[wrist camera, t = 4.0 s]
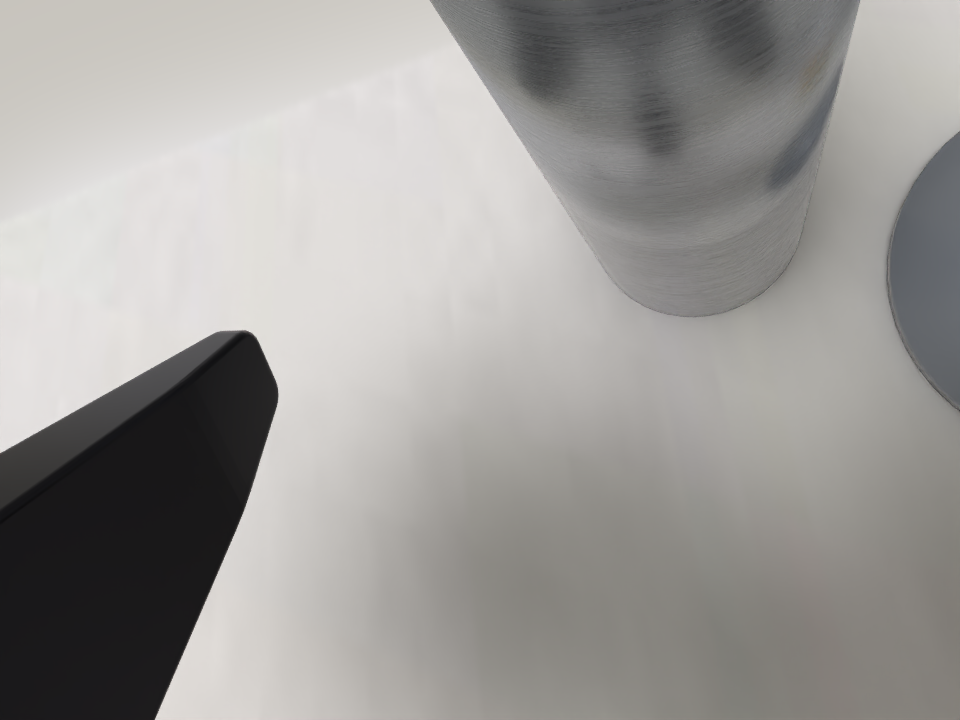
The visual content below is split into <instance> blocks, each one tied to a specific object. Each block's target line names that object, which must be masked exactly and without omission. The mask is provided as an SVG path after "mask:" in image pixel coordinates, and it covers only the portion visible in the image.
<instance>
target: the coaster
mask: <svg viewBox="0 0 960 720" xmlns="http://www.w3.org/2000/svg"><path fill="white" fill-rule="evenodd" d="M887 284H888V292H889V300H890V306H891V309H892V313H893V316H894V320H895V324H896V327H897V329H898V331H899V334H900V336H901V338H902V341H903V343H904V345H905V347H906V349H907V351H908V352H909V354H910V356H911V357H912V359H913V361H914V362H915V364H916V365H917V367H918V369H919V370H920V371H921V372H922V374H923V375H924V376H925V377H926V378H927V380H928V381H929V382H930V383H931V385H932V386H933V387H934V388H935V389H936V390H937V391H938V392H939V393H940V394H941V395H942V396H943V397H944V398H945V399H946V400H947V401H948V402H950V403H951V404H952V405H953V406H954V407H955V408H957V409H958V410H959V411H960V132H958V133H957V134H956V135H955V136H954V137H953V138H952V139H950V140H949V141H948V142H947V143H946V144H945V145H944V146H943V147H942V148H941V149H940V150H939V151H938V153H937V154H936V155H935V156H934V157H933V158H932V159H931V161H930V162H929V163H928V164H927V165H926V167H925V168H924V170H923V171H922V173H921V174H920V176H919V177H918V179H917V180H916V182H915V183H914V185H913V187H912V188H911V190H910V192H909V194H908V196H907V198H906V200H905V202H904V204H903V206H902V208H901V210H900V212H899V214H898V217H897V220H896V223H895V226H894V229H893V232H892V236H891V241H890V247H889V253H888V264H887Z"/></svg>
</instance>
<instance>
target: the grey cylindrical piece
mask: <svg viewBox="0 0 960 720" xmlns="http://www.w3.org/2000/svg"><path fill="white" fill-rule="evenodd" d="M430 1H431V3H432V4H433V6H434V8H435V9H436V11H437V12H438V14H439V15H440V17H441V18H442V20H443V21H444V23H445V24H446V26H447V27H448V29H449V31H450V32H451V34H452V35H453V37H454V38H455V40H456V41H457V43H458V45H459V46H460V48H461V49H462V51H463V52H464V54H465V55H466V57H467V58H468V60H469V62H470V63H471V65H472V66H473V68H474V69H475V71H476V72H477V74H478V75H479V77H480V79H481V80H482V82H483V83H484V85H485V86H486V88H487V89H488V91H489V92H490V94H491V95H492V97H493V99H494V100H495V102H496V103H497V105H498V106H499V108H500V109H501V111H502V112H503V114H504V116H505V117H506V119H507V120H508V122H509V123H510V125H511V126H512V128H513V129H514V131H515V133H516V134H517V136H518V137H519V139H520V140H521V142H522V143H523V145H524V146H525V148H526V150H527V151H528V153H529V154H530V156H531V157H532V159H533V160H534V162H535V163H536V165H537V166H538V168H539V170H540V171H541V173H542V174H543V176H544V177H545V179H546V180H547V182H548V183H549V185H550V187H551V188H552V190H553V191H554V193H555V194H556V196H557V197H558V199H559V200H560V202H561V204H562V205H563V207H564V208H565V210H566V211H567V213H568V214H569V216H570V217H571V219H572V221H573V222H574V224H575V225H576V227H577V228H578V230H579V231H580V233H581V234H582V236H583V238H584V239H585V241H586V242H587V244H588V245H589V247H590V248H591V250H592V251H593V253H594V254H595V256H596V258H597V259H598V261H599V262H600V264H601V265H602V267H603V268H604V270H605V271H606V273H607V274H608V276H609V277H610V278H611V280H612V281H613V282H614V283H615V284H616V285H617V286H618V287H619V289H620V290H621V291H623V292H624V293H625V294H626V295H628V296H629V297H630V298H631V299H633V300H635V301H636V302H638V303H640V304H641V305H643V306H646V307H648V308H650V309H653V310H655V311H658V312H662V313H665V314H669V315H676V316H687V317H698V316H708V315H713V314H718V313H722V312H726V311H728V310H731V309H734V308H737V307H739V306H741V305H743V304H745V303H747V302H749V301H751V300H752V299H754V298H755V297H757V296H758V295H760V294H761V293H762V292H764V291H765V290H766V289H767V288H768V287H769V286H770V285H772V284H773V283H774V282H775V280H776V279H777V278H778V277H779V276H780V275H781V274H782V273H783V271H784V270H785V268H786V267H787V265H788V264H789V262H790V261H791V259H792V257H793V255H794V253H795V251H796V249H797V246H798V243H799V240H800V237H801V234H802V230H803V226H804V222H805V218H806V214H807V210H808V206H809V202H810V198H811V194H812V190H813V186H814V182H815V178H816V174H817V170H818V166H819V162H820V158H821V154H822V150H823V146H824V142H825V138H826V134H827V130H828V126H829V122H830V118H831V114H832V110H833V106H834V102H835V98H836V94H837V90H838V86H839V82H840V78H841V74H842V70H843V66H844V62H845V58H846V54H847V50H848V46H849V42H850V38H851V34H852V30H853V27H854V23H855V19H856V15H857V11H858V7H859V3H860V0H430Z"/></svg>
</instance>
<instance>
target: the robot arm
mask: <svg viewBox="0 0 960 720" xmlns="http://www.w3.org/2000/svg"><path fill="white" fill-rule="evenodd" d="M277 403H278V387H277V383H276V380H275V378H274V376H273V374H272V371H271V369H270V367H269V365H268V362H267V360H266V358H265V355H264V353H263V351H262V349H261V346H260V344H259V342H258V340H257V338H256V337H255V336H254V335H253V334H252V333H251V332H248V331H245V330H241V331H220V332H216V333H214V334H212V335H210V336H208V337H207V338H205V339H203V340H201V341H200V342H198V343H196V344H194V345H192V346H191V347H189V348H187V349H185V350H184V351H182V352H180V353H178V354H176V355H175V356H173V357H171V358H169V359H168V360H166V361H164V362H162V363H160V364H159V365H157V366H155V367H153V368H151V369H150V370H148V371H146V372H144V373H143V374H141V375H139V376H137V377H135V378H134V379H132V380H130V381H128V382H127V383H125V384H123V385H121V386H119V387H118V388H116V389H114V390H112V391H111V392H109V393H107V394H105V395H103V396H102V397H100V398H98V399H96V400H94V401H93V402H91V403H89V404H87V405H86V406H84V407H82V408H80V409H78V410H77V411H75V412H73V413H71V414H70V415H68V416H66V417H64V418H62V419H61V420H59V421H57V422H55V423H54V424H52V425H50V426H48V427H46V428H45V429H43V430H41V431H39V432H38V433H36V434H34V435H32V436H30V437H29V438H27V439H25V440H23V441H21V442H20V443H18V444H16V445H14V446H13V447H11V448H9V449H7V450H5V451H4V452H2V453H0V720H155V718H156V716H157V713H158V711H159V709H160V706H161V704H162V702H163V699H164V697H165V695H166V692H167V690H168V688H169V685H170V683H171V681H172V678H173V676H174V674H175V671H176V669H177V667H178V664H179V662H180V660H181V657H182V655H183V653H184V650H185V648H186V646H187V643H188V641H189V639H190V636H191V634H192V632H193V630H194V627H195V625H196V623H197V620H198V618H199V616H200V613H201V611H202V609H203V606H204V604H205V602H206V599H207V597H208V595H209V592H210V590H211V588H212V585H213V583H214V581H215V578H216V576H217V574H218V571H219V569H220V567H221V564H222V562H223V560H224V557H225V555H226V553H227V550H228V548H229V546H230V543H231V541H232V539H233V536H234V534H235V532H236V529H237V527H238V524H239V522H240V519H241V517H242V514H243V512H244V509H245V506H246V503H247V500H248V497H249V495H250V492H251V489H252V485H253V482H254V479H255V476H256V472H257V469H258V466H259V463H260V459H261V456H262V453H263V450H264V446H265V443H266V440H267V437H268V433H269V430H270V427H271V424H272V420H273V417H274V414H275V411H276V407H277Z"/></svg>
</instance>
